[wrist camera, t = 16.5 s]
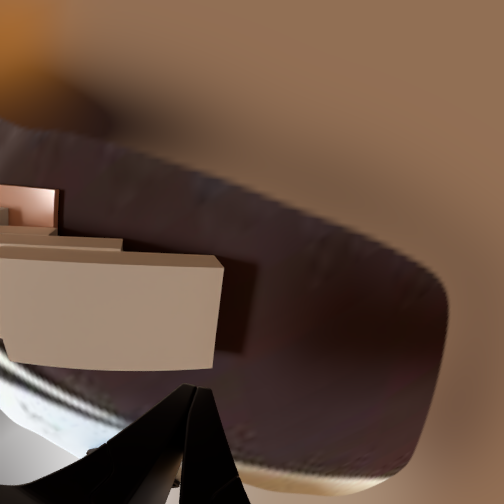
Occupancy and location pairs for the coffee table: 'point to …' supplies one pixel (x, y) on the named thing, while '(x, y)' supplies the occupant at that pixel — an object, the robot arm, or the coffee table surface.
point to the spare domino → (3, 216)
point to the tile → (30, 205)
